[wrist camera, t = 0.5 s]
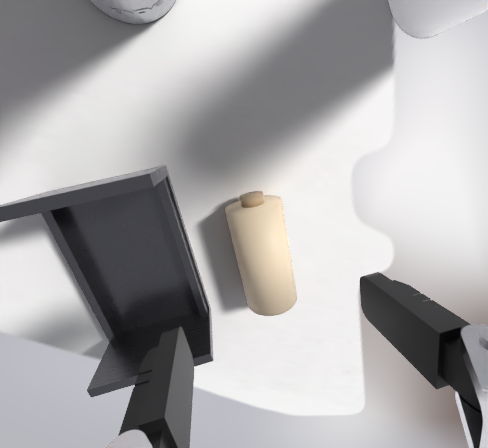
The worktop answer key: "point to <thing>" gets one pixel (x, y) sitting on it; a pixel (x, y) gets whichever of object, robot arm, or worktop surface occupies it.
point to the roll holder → (128, 266)
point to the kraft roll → (262, 252)
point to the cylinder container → (433, 15)
